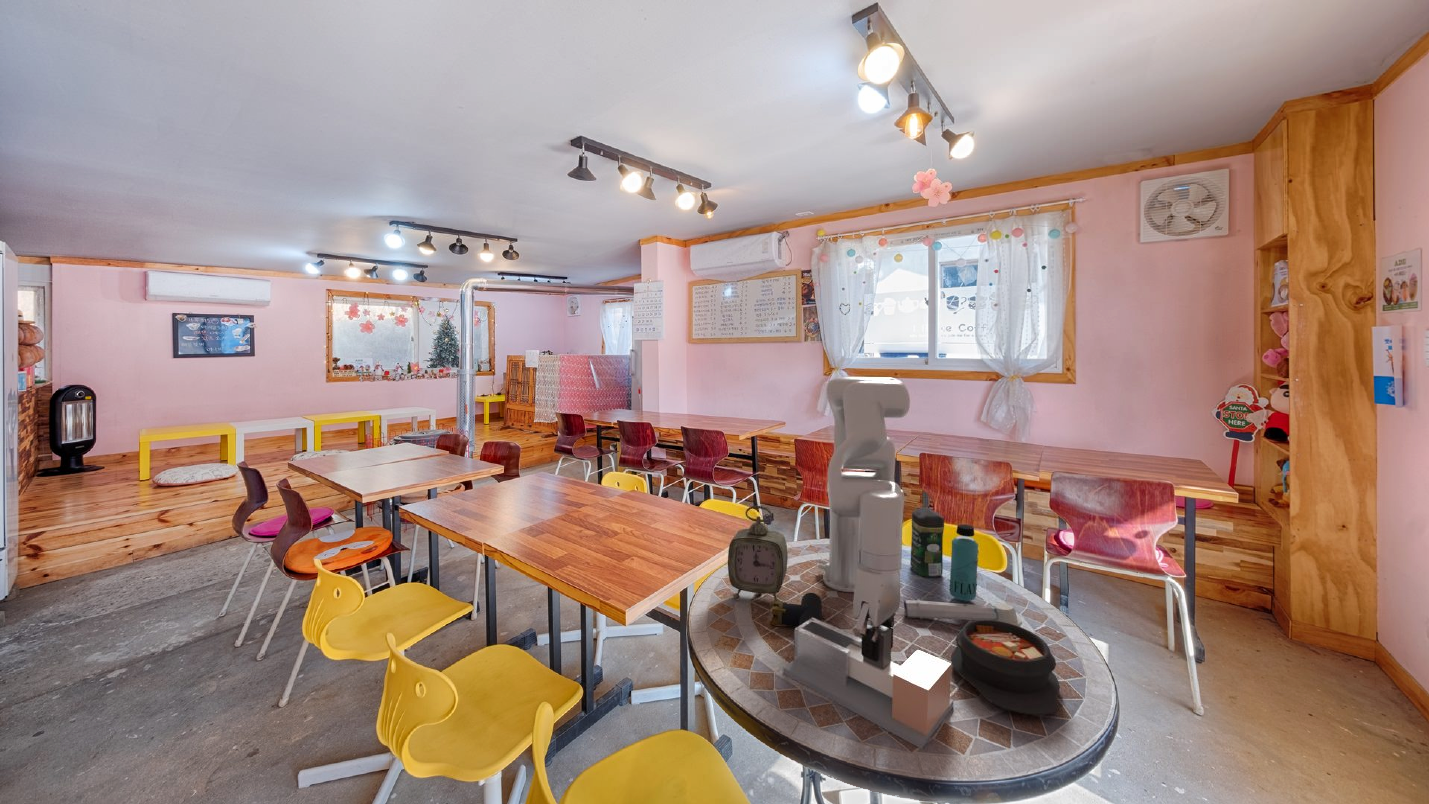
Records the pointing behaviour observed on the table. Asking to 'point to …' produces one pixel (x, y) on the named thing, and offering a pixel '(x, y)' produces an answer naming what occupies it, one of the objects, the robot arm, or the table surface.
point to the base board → (860, 701)
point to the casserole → (1007, 666)
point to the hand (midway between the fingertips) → (877, 650)
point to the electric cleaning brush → (961, 611)
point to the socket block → (921, 691)
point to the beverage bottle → (964, 564)
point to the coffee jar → (927, 542)
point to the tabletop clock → (757, 558)
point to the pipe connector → (797, 611)
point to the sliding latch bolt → (874, 664)
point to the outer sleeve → (825, 649)
